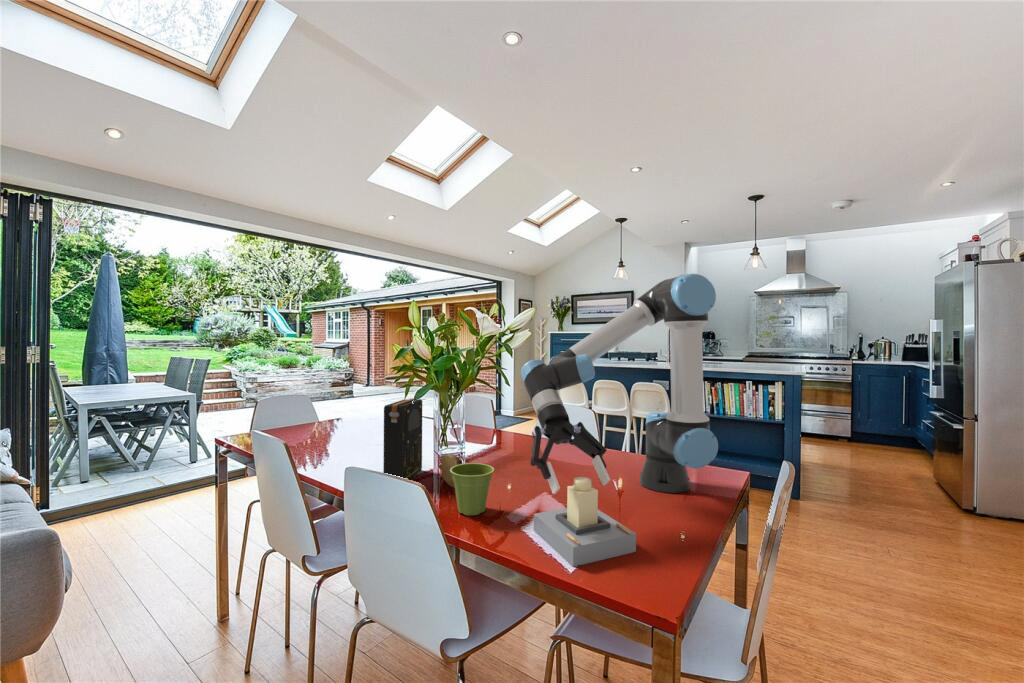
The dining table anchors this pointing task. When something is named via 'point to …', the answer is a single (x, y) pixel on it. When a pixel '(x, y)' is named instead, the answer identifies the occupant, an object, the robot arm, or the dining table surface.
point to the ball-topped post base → (584, 537)
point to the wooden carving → (449, 467)
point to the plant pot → (471, 486)
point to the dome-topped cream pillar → (582, 503)
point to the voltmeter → (403, 438)
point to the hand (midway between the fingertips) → (582, 486)
